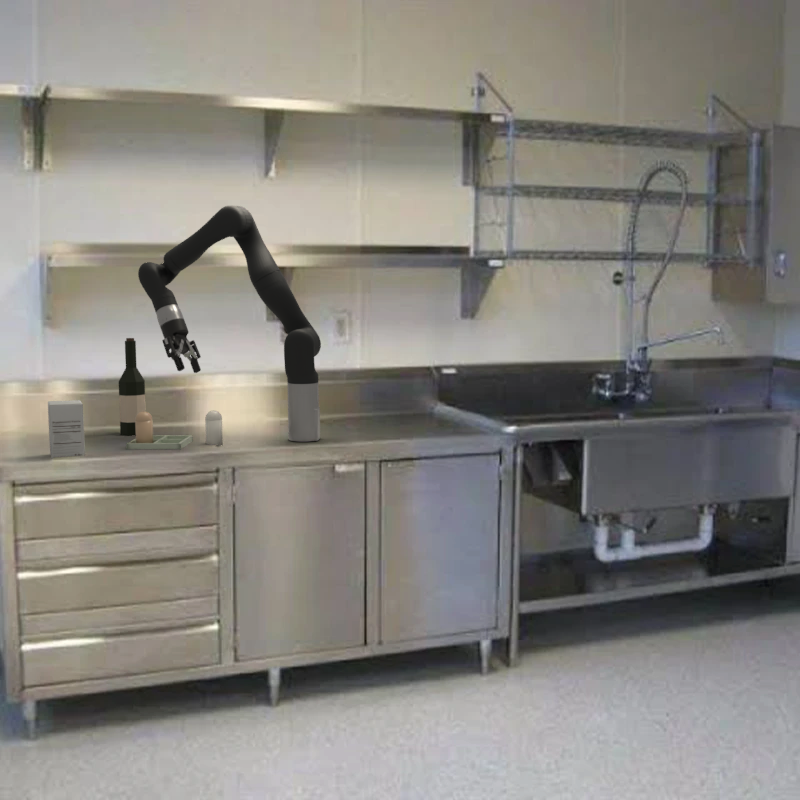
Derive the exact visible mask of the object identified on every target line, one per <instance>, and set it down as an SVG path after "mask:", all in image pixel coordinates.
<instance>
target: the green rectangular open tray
mask: <svg viewBox="0 0 800 800" xmlns="http://www.w3.org/2000/svg"><path fill="white" fill-rule="evenodd" d="M193 441H194V434H193V435H192V434H188V435H187V434H185V435H182V434H181V435H180V434H179V435H178V434H177V435H176V434H173V435H172V434H171V435H168V434H166V435H165V434H163V435H162V434H160V435H159V434H153V443H136V437H135V438H134V439H132V440H130V441H128V442H127V443H125V445H126V446H125V448H126V449H125V450H182V449H184V448H185V447H186V446H188V445H190V443H192V442H193Z"/></svg>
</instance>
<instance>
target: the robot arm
mask: <svg viewBox="0 0 800 800" xmlns="http://www.w3.org/2000/svg"><path fill="white" fill-rule="evenodd" d="M227 238H234V240H235V241H236V243H237V244H238V246H239V248H240V249H241V251H242V252H243V256H244V257H245V261H246V266H247V272H248V276H249V279H250V282H251V284H252V286H253V287H254V289H255V292H256V293H257V295H258V296H259V298H260V300H261V301H262V302H263V304H265V306H266V307H267V308H268V309H269V310H270V311H271V312H272V313H273V314H274V316H276V318H277V319H278V320H279V321H280V322H281V325H282V326H283V327H284V329H285V332H286V333H287V335H286V336H285V339H284V341H283V343H284V344H283V354H284V355H283V356H284V371H285V375H286V377H287V379H286V381H287V382H286V383H287V422H288V423H287V424H288V425H287V430H288V432H287V433H288V434H287V435H288V441H291V442H315V441H316V442H318V441H319V440H320V438H321V409H320V403H319V401H320V400H319V397H320V395H319V391H320V390H319V374H318V372H317V371H316V368H315V367H316V366H315V357H316V356H317V355H318V354H319V353H320V351H321V347H322V343H321V342H322V341H321V339H320V335H319V333H317V331H316V329H315V328H314V327H313V325H312V323H310V322H309V320H308V318H307V317H306V315H305V314H304V313H303V311H302V309H301V307H300V305H299V303H298V300H297V299H296V297H295V294H294V293H293V292H292V290H291V288H290V286H289V284H288V282H287V280H286V278H285V276H284V275H283V273H282V271H281V269H280V268H279V265H277V263H276V261H275V259H274V258H273V255H272V254H271V253H270V251H269V249H268V247H267V246H266V244H265V241H264V240H263V238H262V235H261V233H260V231H259V228H258V226H257V223H256V221H255V220H254V217H253V215H252V212H250V211H249V210H248V209H246V208H245V207H243V206H241V205H240V206H239V205H225V206H222V207H221V208H220V209H219V210H218V211H217V212H216V213H215V214H214V215H212V217H211V218H210V219H209V220H207V222H206V223H205V224H204V225H202V226H201V227H200V228H199V229H197V230H196V231H195V232H194V233H193V234H191V235H190V236H189V237H187V238H186V239H184V240H183V241H181V242H180V243H179V244H177V245H175V246H174V247H173V248H171V249H170V250H168V251H166V252H165V254H164V255H163V262H164V263H163V262H162V263H163V264H162V263H160V264H158V263H155V262H150V261H146V262H147V263H146V262H144V263H142V264H141V265H140V267H139V268H138V271H137V272H138V273H137V274H138V275H137V276H138V280H139V283H140V284H141V286H142V288H143V290H144V291H145V293H146V295H147V296H148V298H149V299H150V300H151V302H152V306H153V309H154V311H155V314H156V319H157V321H158V325H159V328H160V330H161V333H162V336H163V338H164V339H162V344H163V347H164V350H165V353H166V356H167V358H170V359H171V361H173V362H174V364H175V365H174V366H175V367H176V369H177V371H178V372H181V371H183V370H185V364H184V362H183V359H182V357H181V355H183V357H185V358H187V360H188V361H189V362H190V365H191V369H192V371H193V374H197V373H199V372H201V371H202V370H201V366H200V364H199V362H198V361H199V360H198V359H201V358H202V357H201V354H200V351H199V349H198V346H197V344H196V341H195V340H194V339H193V340H191V341H189V339H188V337H187V336H188V334H189V329H188V327H187V323H186V321H185V319H184V316H183V313H182V311H181V309H180V307H179V305H178V302H177V299H176V297H175V293H173V290H171V289H169V288H168V287H166V286H168V285H169V284H171V283H172V282H173V281H174V280H175V279H176V277H177V276H179V274H180V273H181V271H184V270H185V269H186V268H188V267H190V266H191V265H192V264H194V263H195V262H197V261H198V260H199V259H200V258H201V257H202V256H203V255H204V254H205V252H207V250H208V249H210V248H211V247H213V245H215V244H216V243H218V242H220V241H223V240H225V239H227Z"/></svg>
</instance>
